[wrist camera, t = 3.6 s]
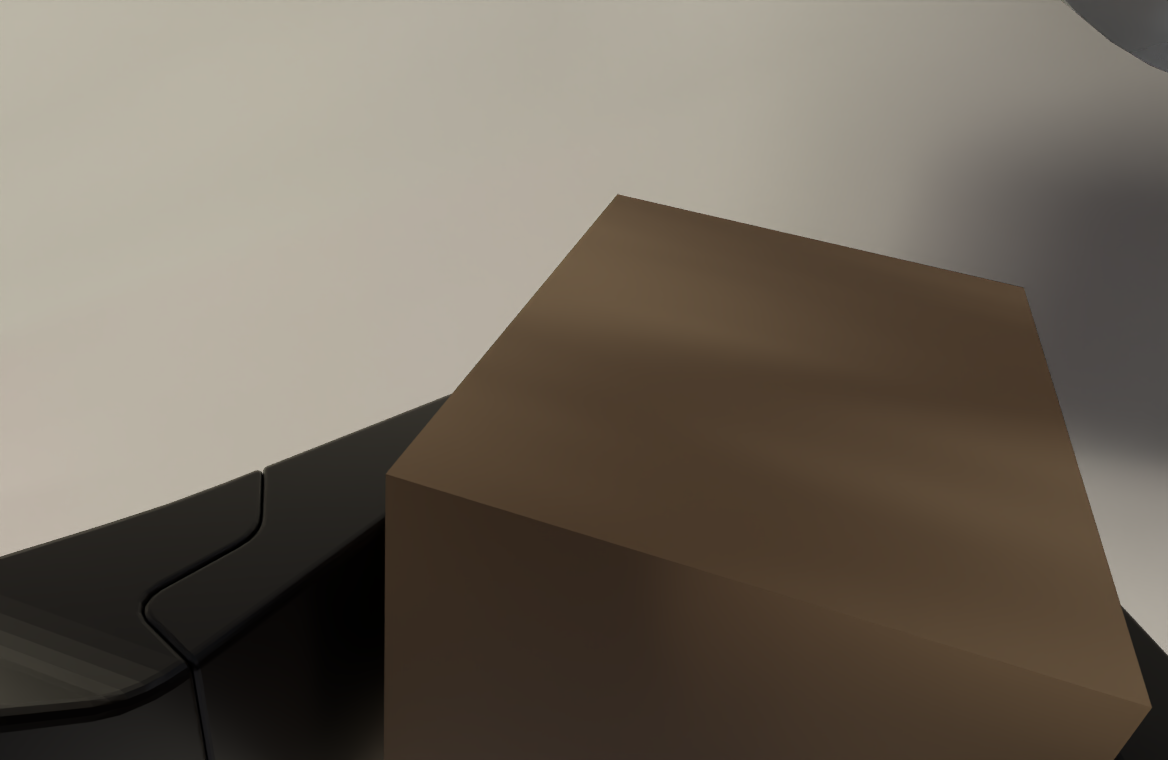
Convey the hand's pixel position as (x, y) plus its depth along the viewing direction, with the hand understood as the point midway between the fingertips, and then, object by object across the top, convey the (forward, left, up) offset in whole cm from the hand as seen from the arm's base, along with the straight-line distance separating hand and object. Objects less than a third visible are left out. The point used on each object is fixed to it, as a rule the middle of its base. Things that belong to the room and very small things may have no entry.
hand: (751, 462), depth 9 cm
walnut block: (0, 0, -1) cm, 1 cm away
